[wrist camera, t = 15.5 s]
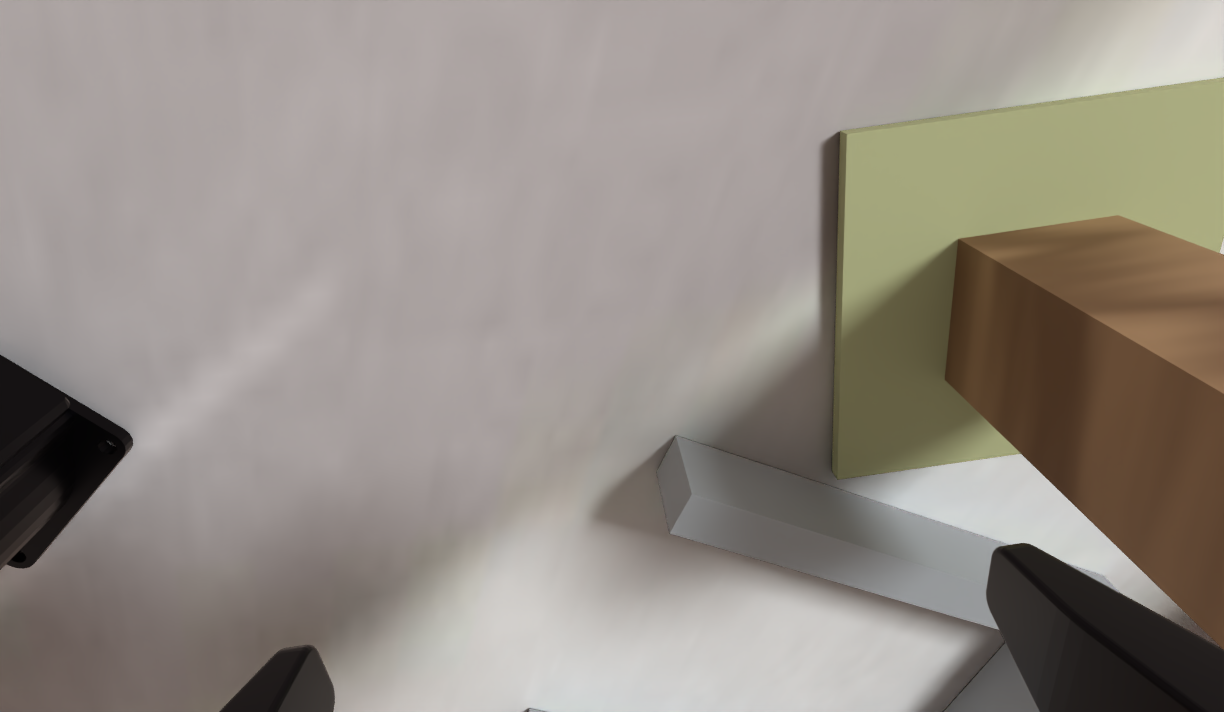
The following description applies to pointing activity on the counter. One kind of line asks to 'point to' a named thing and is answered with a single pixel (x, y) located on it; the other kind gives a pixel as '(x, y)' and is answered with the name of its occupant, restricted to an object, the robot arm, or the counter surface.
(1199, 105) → the mat
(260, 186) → the counter surface
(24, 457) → the robot arm
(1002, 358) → the walnut block
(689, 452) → the channel
